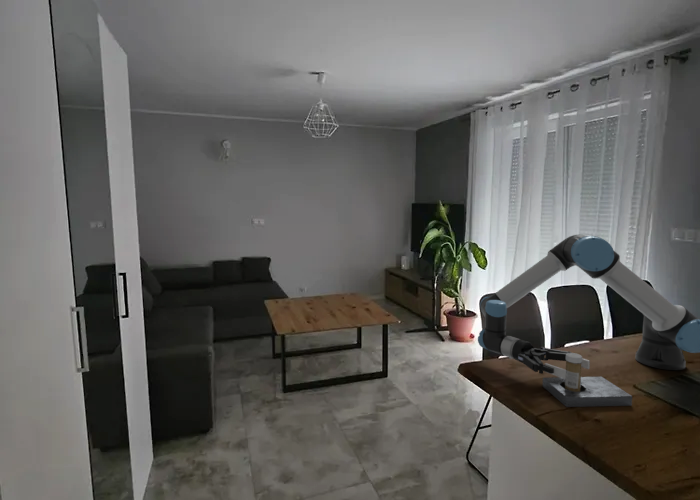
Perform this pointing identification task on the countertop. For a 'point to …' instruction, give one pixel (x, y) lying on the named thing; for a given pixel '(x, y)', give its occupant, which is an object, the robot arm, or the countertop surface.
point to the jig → (588, 392)
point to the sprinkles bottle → (573, 372)
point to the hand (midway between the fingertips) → (577, 369)
